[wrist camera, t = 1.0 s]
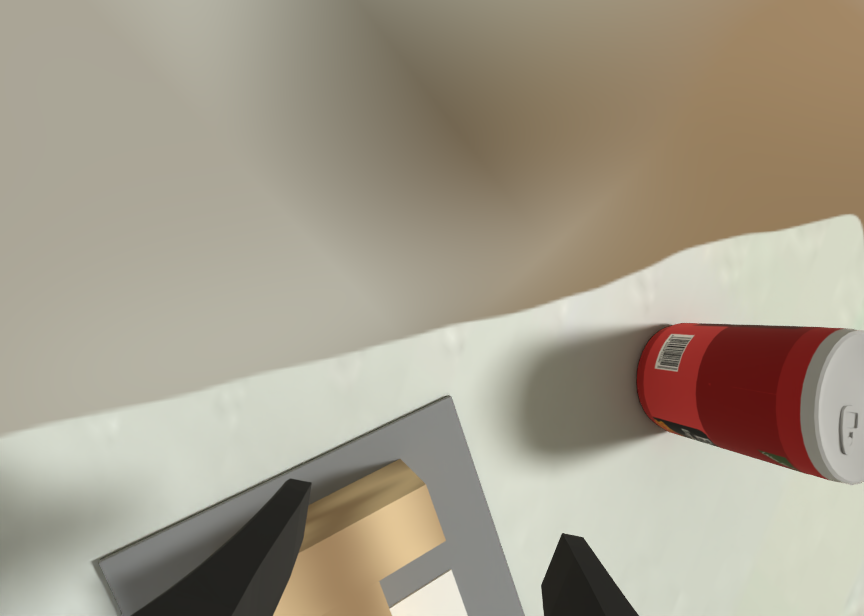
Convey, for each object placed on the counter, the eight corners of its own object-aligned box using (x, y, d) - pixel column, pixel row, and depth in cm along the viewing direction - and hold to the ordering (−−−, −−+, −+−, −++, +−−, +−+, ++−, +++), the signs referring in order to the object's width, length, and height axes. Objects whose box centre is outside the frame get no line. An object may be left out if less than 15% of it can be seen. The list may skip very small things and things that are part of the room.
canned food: (637, 440, 32) (820, 504, 21) (628, 329, 31) (809, 339, 21) (711, 419, 34) (905, 466, 24) (704, 316, 34) (896, 320, 24)
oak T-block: (285, 729, 22) (291, 813, 19) (211, 554, 21) (201, 606, 17) (456, 614, 26) (490, 665, 22) (400, 458, 25) (426, 484, 21)
